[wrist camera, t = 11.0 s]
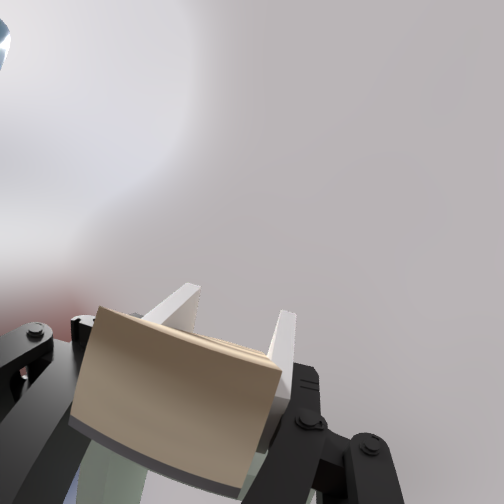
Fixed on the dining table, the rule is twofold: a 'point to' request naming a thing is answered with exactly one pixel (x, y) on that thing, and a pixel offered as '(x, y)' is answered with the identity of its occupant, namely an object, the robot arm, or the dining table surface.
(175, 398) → the light wooden bar
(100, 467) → the rectangular arch
